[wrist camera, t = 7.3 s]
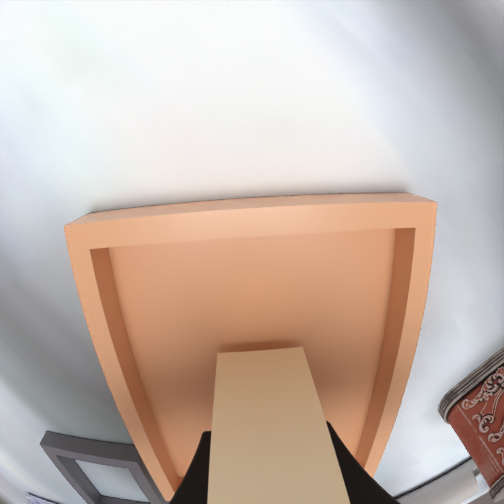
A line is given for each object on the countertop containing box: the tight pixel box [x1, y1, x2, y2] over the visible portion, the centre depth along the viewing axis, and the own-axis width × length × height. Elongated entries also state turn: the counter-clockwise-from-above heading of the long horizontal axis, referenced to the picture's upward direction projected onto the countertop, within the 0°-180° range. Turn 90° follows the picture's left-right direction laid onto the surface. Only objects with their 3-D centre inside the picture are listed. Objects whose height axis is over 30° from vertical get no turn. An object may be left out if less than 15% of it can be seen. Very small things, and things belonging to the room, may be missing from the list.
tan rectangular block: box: [207, 347, 350, 504], centre depth 9 cm, size 3×5×6 cm, turn 3°
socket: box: [40, 431, 170, 504], centre depth 15 cm, size 7×9×1 cm
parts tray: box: [64, 193, 437, 501], centre depth 12 cm, size 12×16×2 cm
